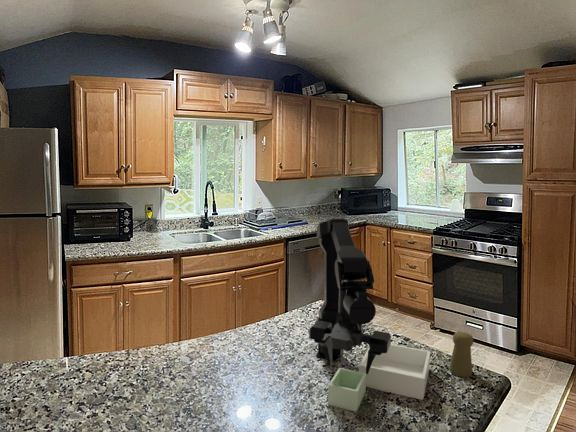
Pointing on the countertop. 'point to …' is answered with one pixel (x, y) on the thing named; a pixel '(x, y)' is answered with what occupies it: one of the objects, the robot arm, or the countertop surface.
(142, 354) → the countertop surface
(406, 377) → the white open box
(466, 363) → the olive pepper shaker
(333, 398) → the sage crate
